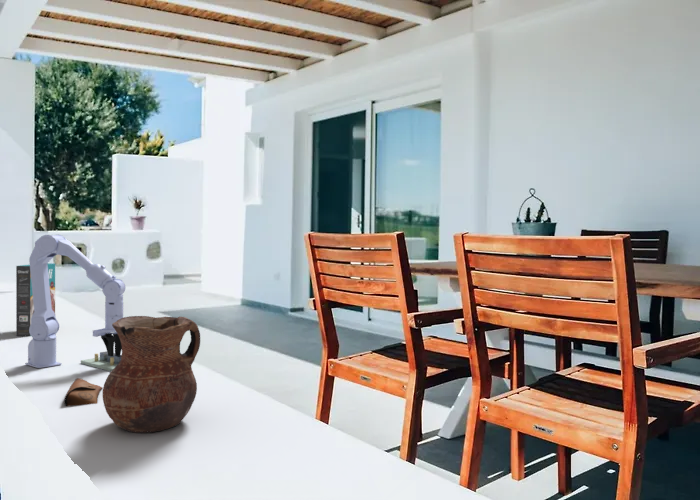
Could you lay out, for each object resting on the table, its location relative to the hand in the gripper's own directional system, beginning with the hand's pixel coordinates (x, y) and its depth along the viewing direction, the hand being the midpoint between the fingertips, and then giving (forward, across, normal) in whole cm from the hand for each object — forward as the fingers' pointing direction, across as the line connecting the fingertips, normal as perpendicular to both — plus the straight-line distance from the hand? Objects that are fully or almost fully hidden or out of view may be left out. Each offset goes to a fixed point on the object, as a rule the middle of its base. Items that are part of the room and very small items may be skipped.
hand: (114, 355), depth 213 cm
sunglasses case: (+4, -27, -30) cm, 40 cm away
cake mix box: (+4, +16, +87) cm, 89 cm away
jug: (+4, -30, -64) cm, 71 cm away
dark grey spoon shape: (+3, 0, 0) cm, 3 cm away
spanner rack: (+3, 0, +2) cm, 4 cm away
